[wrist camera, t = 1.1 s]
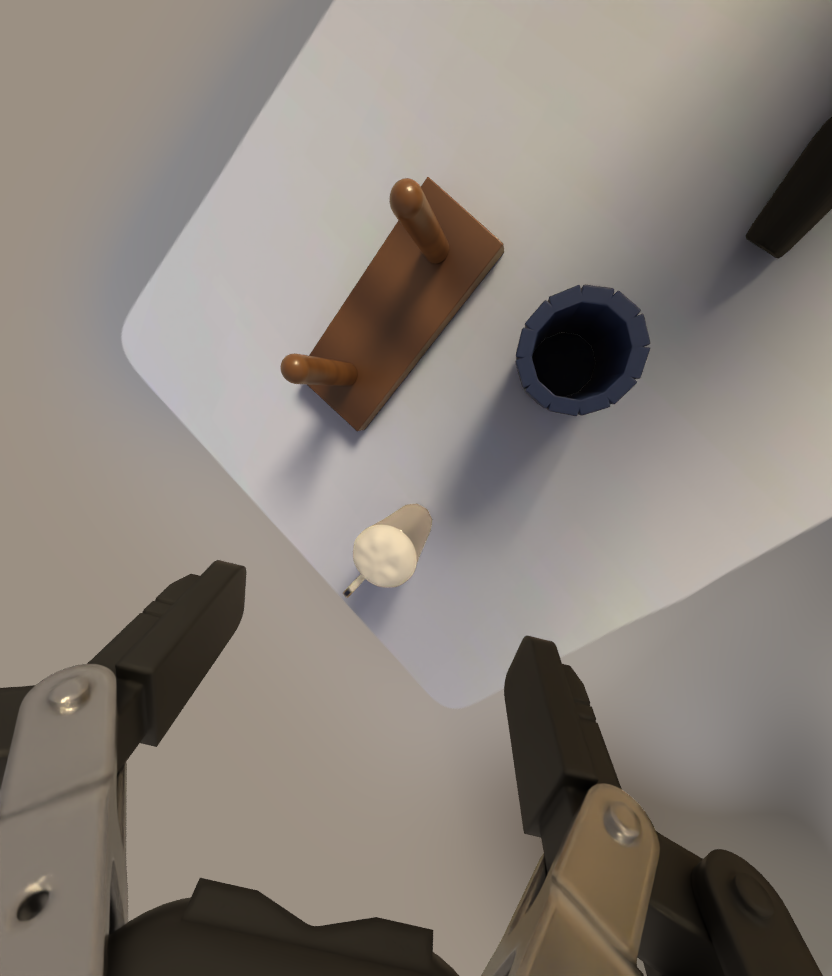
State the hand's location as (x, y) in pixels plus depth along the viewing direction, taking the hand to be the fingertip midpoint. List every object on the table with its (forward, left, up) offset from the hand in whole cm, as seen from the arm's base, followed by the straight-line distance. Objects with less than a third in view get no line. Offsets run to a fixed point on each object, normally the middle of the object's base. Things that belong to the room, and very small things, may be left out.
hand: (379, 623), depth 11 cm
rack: (-12, -7, -22) cm, 26 cm away
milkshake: (+5, -5, -22) cm, 24 cm away
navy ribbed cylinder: (-8, +6, -22) cm, 25 cm away
